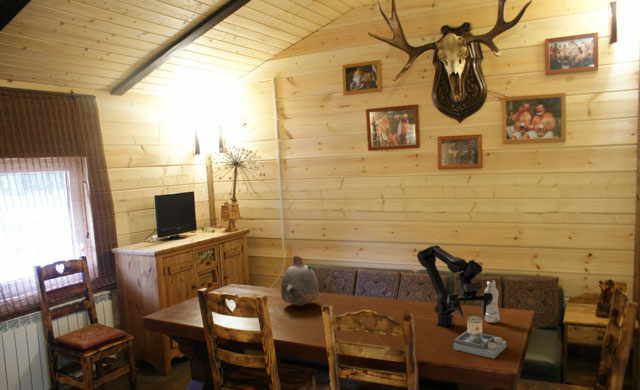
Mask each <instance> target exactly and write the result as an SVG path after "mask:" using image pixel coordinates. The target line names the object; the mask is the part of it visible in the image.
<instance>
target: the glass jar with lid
mask: <svg viewBox="0 0 640 390" xmlns="http://www.w3.org/2000/svg"><path fill="white" fill-rule="evenodd" d="M466 325H467V327H466V328H467V329H466V331H467V330H468V341H469V342H472V343H482V342H483V335H482V334H483V318H482V317H481V316H476V315H471V316H467V317H466Z"/></svg>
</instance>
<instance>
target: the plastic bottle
mask: <svg viewBox="0 0 640 390" xmlns="http://www.w3.org/2000/svg"><path fill="white" fill-rule="evenodd" d="M496 285H497V284H496V281H495V280H487V281H486V287H485V289H484V291H483V293H491V294H492V295H493V300H492V302H491V304H489V305H488V306H487V307H486V316H485V317H484V320H485V321H486V322H487V323H490V324H495V323H498V322H499V321H500V313H499V307H498V305H499V303H498V302H499V301H498V300H499V290H498V289H497V287H496Z"/></svg>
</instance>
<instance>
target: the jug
mask: <svg viewBox="0 0 640 390" xmlns="http://www.w3.org/2000/svg"><path fill="white" fill-rule="evenodd" d="M292 260H293V262H292V265H291V266H288V268H287V269H286V270H285V272H284V273H283V276H282V278H281V282H280V283H281V284H280V294H281V299H282V301H283V302H284V303H287V304H291V305H295V306H298V307H299V306H300V307H303V306H305V305H306V304H310V303H312V302H314V301H316V300H318V299H319V294H320V292H319V291H320V290H319V289H320V288H319V287H320V286H319V282H318V278H317V275H316V273H315V270H314V269H312V266H311V264H308V265H306V264H304V262H303V258H302V257H301V256H298V255H297V254H296V253H293V259H292Z"/></svg>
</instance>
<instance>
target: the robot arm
mask: <svg viewBox="0 0 640 390" xmlns="http://www.w3.org/2000/svg"><path fill="white" fill-rule="evenodd" d="M417 252H418V253H417V255H416V258H417V260H418V262H419V264H420V265H421V266H422V267H424V268H425V269H426V272H427V274H428V276H429V280H431V283H432V285H433V288H434V291H436V292H435V293H436V295H437V297H436V303H437V304H436V305H435V306H434V307H433V308H434V313H436V314H437V323H436V326H439V327H443V328H450V327H452V326H453V325H455V322H454V321H455V319H454V313H456V311H457V313H458V314H459V315H460V317H461V319H462V318H464V312H463V309H462V306H461V302H474V301H475V302H477V301H479V302H481V311H482V315H483V317H484V318H485V316H486V307H487V306H488V305H489V304H491V302H492V300H493V295H492V294H491V293H484V292H482V293H481V295H477V294H478V292H479V290H482V289H483V285H482V282H481V281H477V282H476V281H475V283H474V282H473V280H475V279H477V278H478V276H479V275H480V274H481V273H482V272H483V267H482V265H481V264H479V262H476V261H475V259H471V260H469V261H468V262H467V261H466V259H464V258H462V257H459V256H458V257H457V256H453V255H452V254H451V253H449V252H447V251H446V250H444V249H443V248H441V246H439V245H437V244H436V245H430V246H428V247H427V248H425V249H423V250H419V251H417ZM437 259H438V260H440V261H441V262H442V263H444V264H445V265H446V266H447V268H448V270H449V271H450V272H451V273H453V274H456V273H458V274H457V276H456V278H455V280H456V281H458V283H459V288H460V293H461V296H459V295H458V293H453V292H449V291H448V290H447V287H446V286H445V283H444V281H443V278H442V276H441V275H440V272H439V269H438V267H437V265H436V262H437Z"/></svg>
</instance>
